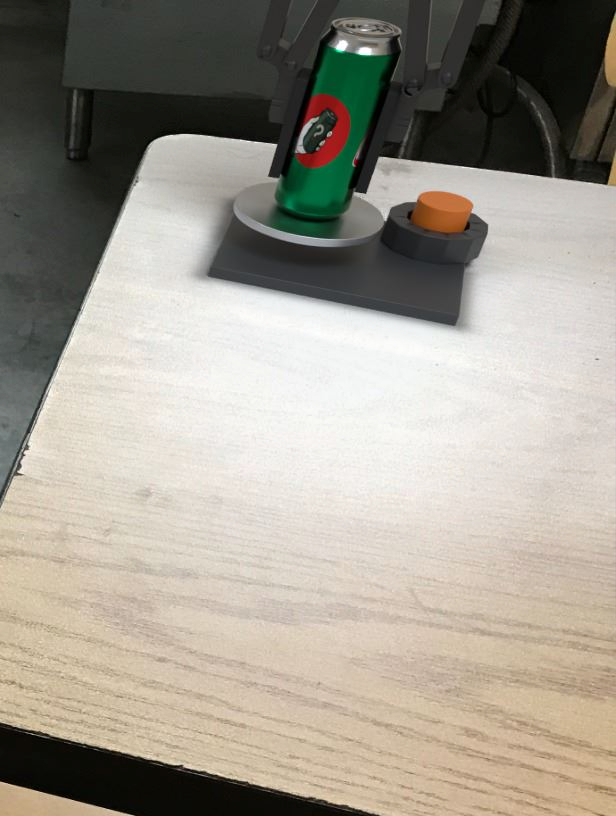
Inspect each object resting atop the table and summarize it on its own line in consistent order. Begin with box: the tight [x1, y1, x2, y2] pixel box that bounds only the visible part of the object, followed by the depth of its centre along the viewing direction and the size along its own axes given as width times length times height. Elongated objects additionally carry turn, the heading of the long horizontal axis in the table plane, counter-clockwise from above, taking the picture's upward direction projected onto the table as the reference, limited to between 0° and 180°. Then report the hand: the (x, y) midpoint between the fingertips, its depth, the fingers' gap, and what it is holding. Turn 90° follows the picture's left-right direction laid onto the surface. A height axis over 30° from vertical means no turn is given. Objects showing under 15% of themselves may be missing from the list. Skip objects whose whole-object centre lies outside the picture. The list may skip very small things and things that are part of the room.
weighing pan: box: [232, 181, 385, 247], centre depth 95 cm, size 10×10×1 cm
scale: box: [207, 201, 489, 327], centre depth 96 cm, size 17×14×4 cm
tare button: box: [410, 190, 474, 233], centre depth 95 cm, size 4×4×2 cm
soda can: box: [274, 17, 403, 221], centre depth 91 cm, size 5×5×12 cm
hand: (319, 177), depth 94 cm, fingers closed on soda can, 5 cm apart
